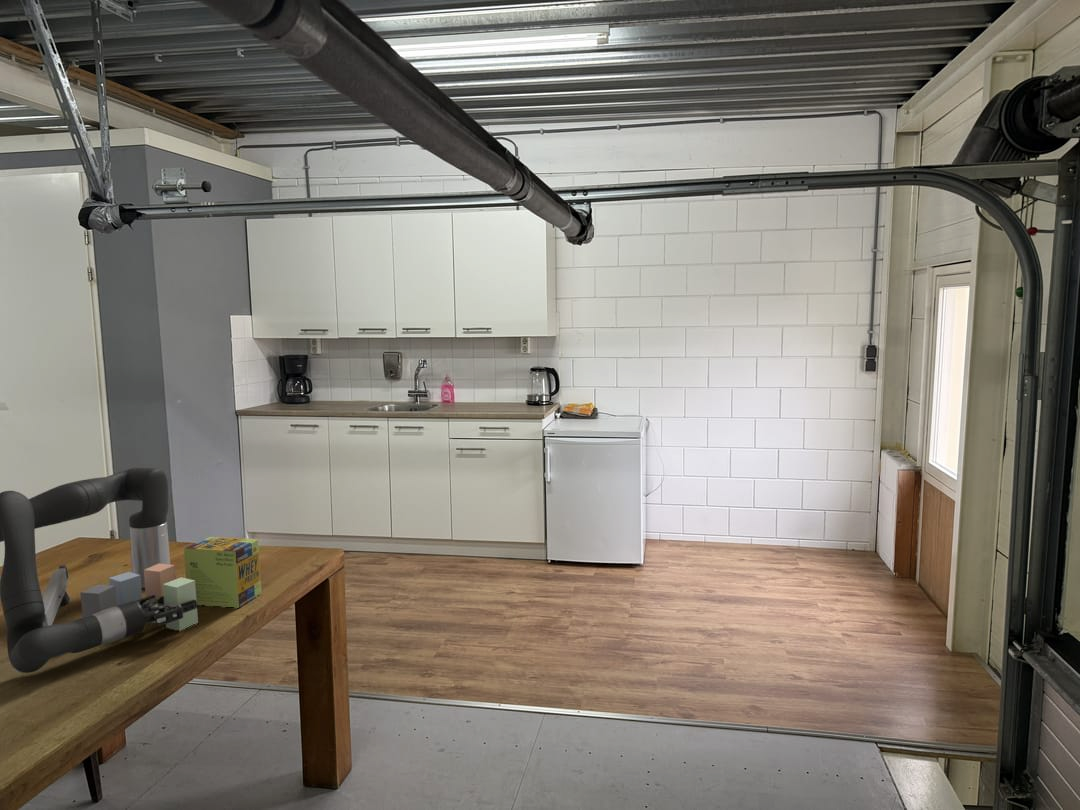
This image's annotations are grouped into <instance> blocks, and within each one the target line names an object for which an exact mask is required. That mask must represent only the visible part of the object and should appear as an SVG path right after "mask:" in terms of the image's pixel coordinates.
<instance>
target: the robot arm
mask: <svg viewBox="0 0 1080 810" xmlns="http://www.w3.org/2000/svg"><path fill="white" fill-rule="evenodd" d="M122 501H138V502H139V501H140V502H142V503H141V505H142V506H141V507H142V508H141V510H140V511H138V512H134V513H133V514H131V515H130V517H129V519H128V523H129V524H128V526H129V533H130V534H129V535H130V544H131V551H130V553H129V554H130V565H131V572H132V573H135V574H138V575H140V577H141V589H145V579H144V570H145V569H147V568H150V567H152V566H154V565H157V564H159V563H160V564H169V565H171V558H170V547H169V534H168V521H167V520H168V519H167V518H168V517H167V516H168V512H169V483H168V477H167V475H166V473H165V472H164V471H163V470H162V469H160V468H154V467H153V468H151V467H132V468H127V469H124V470H122V471H120V472H117V473H113V474H111V475H107V476H104V477H103V476H102V477H95V478H88V479H82V480H77V481H71V482H68V483H64V484H61V485H58V486H55V487H52V488H51V489H48V490H46V491H43V492H41V493H39V494H37V495H35V496H32V497H30V498H28V497H27V496H26V495H24V494H23V493H21V492H20V491H19V492H18V491H15V490H4V491H1V492H0V543H2V542H3V543H4V559H3V563H2V564H3V565H2V569H1V575H0V602H1V608H2V613H3V616H4V621H5V624H6V645H7V656H8V660H9V662H10V665H11V666H12V667H13V669H14V670H16V671H18V672H19V673H23V674H29V673H34V672H36V671H38V670H40V669H42V668H43V667H44V666H45V665H46V664H47V662H48V661H49V660H50V659H53V658H55V657H58V656H61V655H64V654H67V653H70V654H78V653H82V652H85V651H88V650H91V649H94V648H97V647H99V646H103V645H107V644H110V643H113V642H116V641H119V640H120V641H121V640H122V639H123V640H124V639H125V638H129V637H131V636H134V635H137V634H139V633H142V632H143V631H144V630H145V627H146V625H147V624H148V623H149V624H150V623H155V624H156V625H155V626H157V627H160V626H163V625H166V623H169V622H173V621H176V620H179V619H182V618H183V613H185V612H188V611H191V610H194V609H196V608H197V609H198V605H197V601H196V600H191V601H188V602H185V603H182V604H178V605H171V604H164V596H162V597H161V596H156V597H155V595H151V596H148V597H146V596H144V597H142V599H139V600H136V601H130V602H127V603H124V604H121V605H118V606H114V607H111V608H108V609H105V610H102V611H100V612H97V613H95V614H93V615H90V616H86V617H83V616H82V617H81V618H77V619H75V620H72V621H69V622H61V623H56V624H52V625H49V626H44V627H43V619H44V615H45V608H44V603H43V598H42V596H43V594H42V590H41V586H40V582H39V577H38V576H39V575H38V570H37V559H36V557H37V556H36V538H35V537H36V534H35V533H36V531H35V530H36V529H40V528H44V527H48V526H54V525H57V524H61V523H66V522H69V521H73V520H78V519H82V518H85V517H89V516H92V515H95V514H97V513H100V511H102V510H103V509H104V508H105V507H106V506H107V505H109V504H111V503H115V502H116V503H117V502H122ZM147 600H148V601H147ZM146 601H147V602H146ZM165 608H166V612H165ZM171 609H172V610H171ZM175 612H176V613H175Z"/></svg>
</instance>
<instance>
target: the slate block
mask: <svg viewBox="0 0 1080 810" xmlns="http://www.w3.org/2000/svg"><path fill="white" fill-rule="evenodd" d="M108 581H109V582H108V583H109V584H108V585H112V586H115V589H116V600H117V606H118V605H121V604H124V603H127V602H130V601H136V600H139V599H142V598H143V591H142V589H143V588H141V577H140V575H138V574H135V573H132V571H127V572H123V573H121V574H117V575H115V576H114V575H113V576H111V577H108Z"/></svg>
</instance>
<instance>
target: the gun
mask: <svg viewBox="0 0 1080 810" xmlns="http://www.w3.org/2000/svg"><path fill="white" fill-rule="evenodd" d="M68 579H69V571H68V567H67V566H66V565H65V564H63V565H59V566H58V568H55V569H54V570H53V571H52V574H51V575H50V578H49V581H47V585H46V587H45V589H44V592H43V594H42V598H43V603H44V608H45V615H44V619H43V627H44V626H49V625H53V623H54V622H55V619H56V616H57V613H58V611H59V608H60V606H64V604H65V605H68V604H69V603H70V600H71V599H70V597H69V594H68V591H66V590H67V589H68V585H69V582H68Z"/></svg>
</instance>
